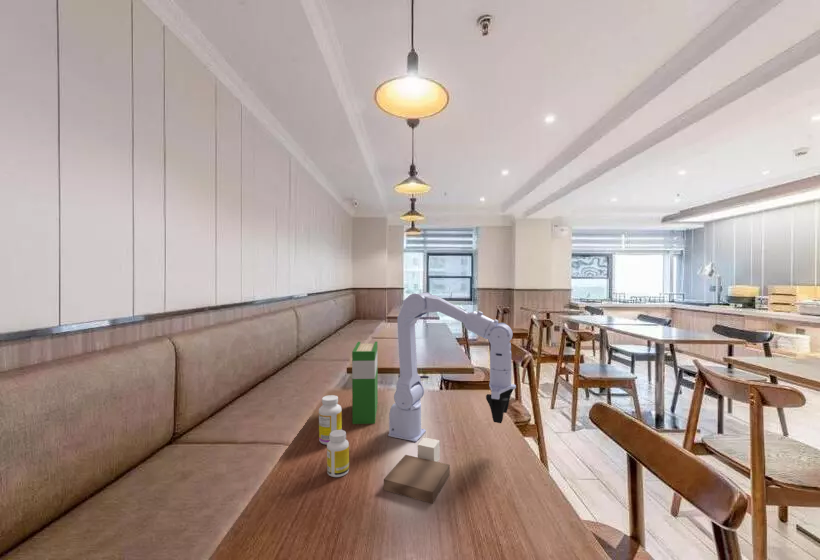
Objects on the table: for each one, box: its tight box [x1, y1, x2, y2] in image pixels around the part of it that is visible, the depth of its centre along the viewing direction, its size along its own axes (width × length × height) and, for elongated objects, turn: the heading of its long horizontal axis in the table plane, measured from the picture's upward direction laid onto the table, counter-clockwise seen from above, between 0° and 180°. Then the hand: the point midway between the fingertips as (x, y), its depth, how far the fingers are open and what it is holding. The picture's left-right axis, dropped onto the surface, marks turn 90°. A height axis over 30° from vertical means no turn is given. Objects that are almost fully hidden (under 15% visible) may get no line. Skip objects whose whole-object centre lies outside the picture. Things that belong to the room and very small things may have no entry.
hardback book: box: [351, 341, 379, 425], centre depth 125 cm, size 18×7×24 cm, turn 2°
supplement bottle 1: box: [318, 394, 343, 446], centre depth 105 cm, size 7×7×13 cm
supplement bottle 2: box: [326, 429, 350, 478], centre depth 88 cm, size 5×5×10 cm
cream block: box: [417, 437, 441, 462], centre depth 93 cm, size 4×4×5 cm
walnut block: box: [383, 454, 451, 504], centre depth 84 cm, size 12×12×2 cm
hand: (500, 416), depth 97 cm, fingers open, 7 cm apart
